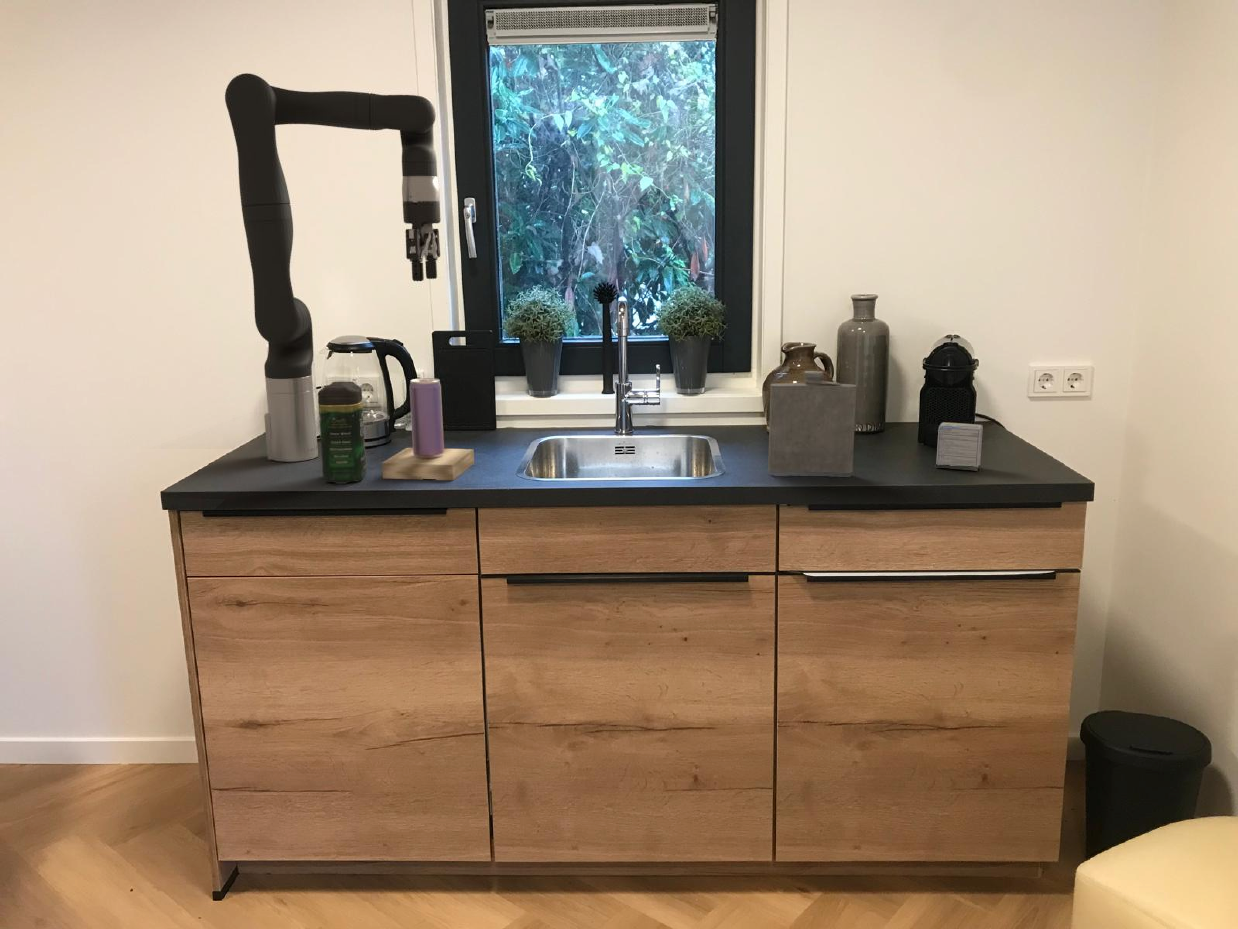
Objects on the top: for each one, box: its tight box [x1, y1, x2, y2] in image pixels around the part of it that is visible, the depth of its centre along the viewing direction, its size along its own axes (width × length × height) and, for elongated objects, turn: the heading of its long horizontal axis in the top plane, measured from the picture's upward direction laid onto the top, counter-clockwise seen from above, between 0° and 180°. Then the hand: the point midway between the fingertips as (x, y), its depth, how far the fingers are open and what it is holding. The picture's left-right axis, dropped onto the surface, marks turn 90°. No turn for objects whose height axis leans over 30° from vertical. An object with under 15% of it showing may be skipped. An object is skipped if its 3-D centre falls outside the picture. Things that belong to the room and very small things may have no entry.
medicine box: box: [935, 421, 984, 467], centre depth 199 cm, size 8×4×9 cm, turn 65°
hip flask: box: [767, 370, 857, 473], centre depth 194 cm, size 16×4×20 cm, turn 84°
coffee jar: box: [317, 381, 367, 484], centre depth 193 cm, size 10×8×19 cm
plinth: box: [381, 447, 475, 481], centre depth 200 cm, size 14×14×3 cm
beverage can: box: [409, 377, 445, 459], centre depth 198 cm, size 6×6×15 cm
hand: (425, 279), depth 213 cm, fingers open, 8 cm apart
